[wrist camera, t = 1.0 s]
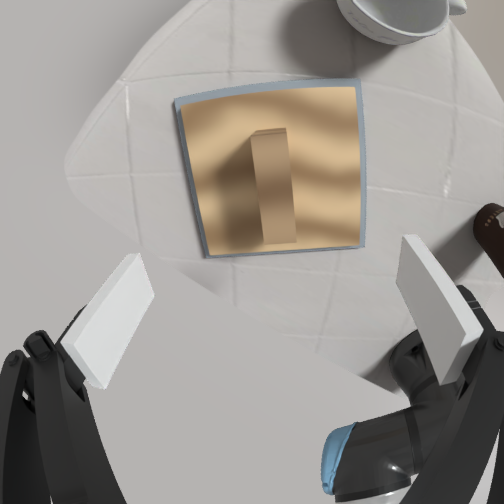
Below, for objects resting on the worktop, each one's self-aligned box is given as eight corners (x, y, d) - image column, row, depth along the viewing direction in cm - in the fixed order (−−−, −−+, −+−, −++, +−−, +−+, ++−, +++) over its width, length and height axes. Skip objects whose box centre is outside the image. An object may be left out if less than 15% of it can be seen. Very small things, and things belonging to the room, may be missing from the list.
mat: (363, 244, 35) (364, 247, 34) (207, 254, 38) (206, 257, 37) (358, 79, 25) (360, 78, 25) (176, 98, 28) (173, 98, 28)
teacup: (328, 39, 24) (342, 20, 17) (327, -37, 18) (337, -68, 11) (441, 66, 23) (479, 63, 16) (437, -7, 17) (470, -23, 10)
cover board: (357, 240, 34) (371, 273, 28) (211, 250, 37) (197, 283, 30) (352, 87, 25) (371, 83, 19) (183, 105, 28) (157, 107, 22)
